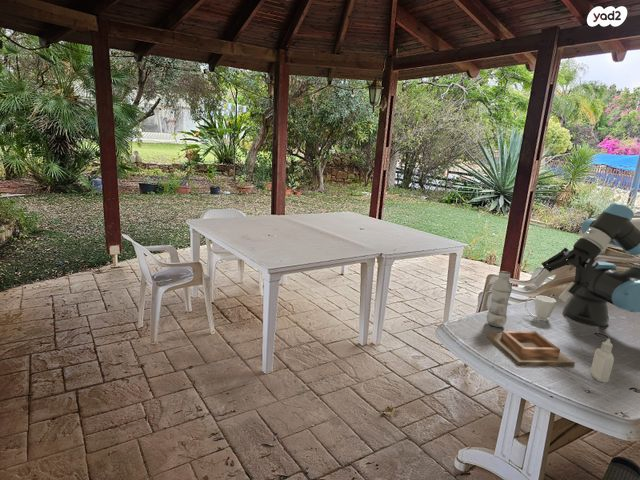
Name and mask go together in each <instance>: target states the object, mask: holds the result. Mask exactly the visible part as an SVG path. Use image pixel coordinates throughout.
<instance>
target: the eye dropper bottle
mask: <svg viewBox="0 0 640 480" xmlns="http://www.w3.org/2000/svg"><path fill="white" fill-rule="evenodd" d="M613 347H614V345H613V344H612V343H611V339H610V338H606V340H605V341H602V342H601V346H600V348H596V349H595V352H594V355H593V359H592V364H591V367H590V375H591V376H592V378H593V379H595V380H596V381H598V382H601V383H608V382H609V380H610V377H611V373H612V369H613V365H614V361H615V357H614V355H613V353H612V349H613Z"/></svg>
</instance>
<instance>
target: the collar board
mask: <svg viewBox="0 0 640 480" xmlns="http://www.w3.org/2000/svg"><path fill="white" fill-rule="evenodd" d="M486 337H487V339H488V340H490V341H491V342H492V343H493V344H494V345H495V346H496V347H498V349H500V351H501V352H503V353H504V354H505V355H506V356H507V357H508V358H509V359H510V360H511V361H513V362H514V363H515V364H516V365H517V366H518V367H519V366H521V367H522V366H523V367H524V366H525V367H528V366H530V367H531V366H532V367H533V366H534V367H540V366H541V367H542V366H543V367H547V366H548V367H574V366H575V363H576V362H575V361H574V360H573V359H571V358H569V356H568V355H566V354H564V353H563V352H562V351H561V348H559V347H558V346H556V345H555V344H554V343H553V342H551V341H549V340H548V339H547V338H546V337H544V336H543V335H542V334H540V333H538V332H537V331H535V330H534V331H532V330H530V331H527V330H522V331H521V330H515V331H514V330H502V331H501V333H487V335H486Z"/></svg>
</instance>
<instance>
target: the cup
mask: <svg viewBox="0 0 640 480" xmlns="http://www.w3.org/2000/svg"><path fill="white" fill-rule="evenodd" d="M530 300H533V301H535V308H534V309H535V314H533V313H532V312H531V311H530V310H529V308H527V304H528V302H529V301H530ZM556 304H557V300H556V299H555V298H553V297H549V296H546V295H540V294H539V295H536V296H535V297H530V298H528V299H526V301H525V303H524V308H525V310H526V311H527V313H529V314H530V315H531V316H533V317H534V318H536V319H538V320H540V321H545V322H546V321H549V318H550V317H551V315H552V313H553V312H554V311H553V310H554V308H555V306H556Z"/></svg>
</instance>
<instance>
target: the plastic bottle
mask: <svg viewBox="0 0 640 480" xmlns="http://www.w3.org/2000/svg"><path fill="white" fill-rule="evenodd" d="M497 277H498V278H497V279H495V281H493V283H492V284H491V298H490V299H491V300H490V306H489V309H488V312H487V314H486V322H487V324H488V325H490V326H493V327H495V328H496V327H497V328H502V327H504V326H505V325H506V323H507V320H508V317H507V310H508V305H509V304H508V303H509V300H510V296H511V293H512V291H513V286H512V284H511V281H510V279H511V273H510V272H509V271H505V270H504V271H503V270H500V271H498V275H497Z"/></svg>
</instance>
